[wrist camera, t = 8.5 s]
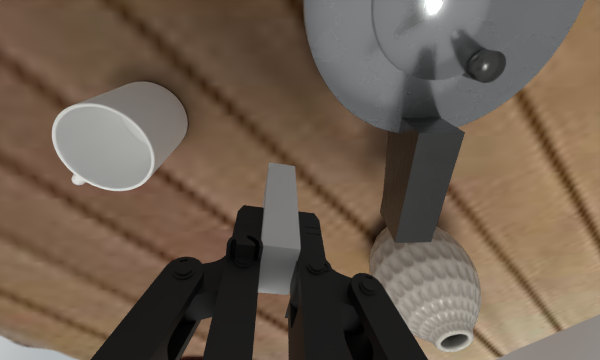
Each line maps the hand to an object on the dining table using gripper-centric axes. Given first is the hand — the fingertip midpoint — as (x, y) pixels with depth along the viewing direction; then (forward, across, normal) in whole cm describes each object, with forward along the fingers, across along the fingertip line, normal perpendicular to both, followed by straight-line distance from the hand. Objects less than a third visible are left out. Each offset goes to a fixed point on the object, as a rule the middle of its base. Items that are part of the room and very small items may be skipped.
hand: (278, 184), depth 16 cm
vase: (+18, +22, -18) cm, 33 cm away
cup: (+19, -16, -6) cm, 26 cm away
